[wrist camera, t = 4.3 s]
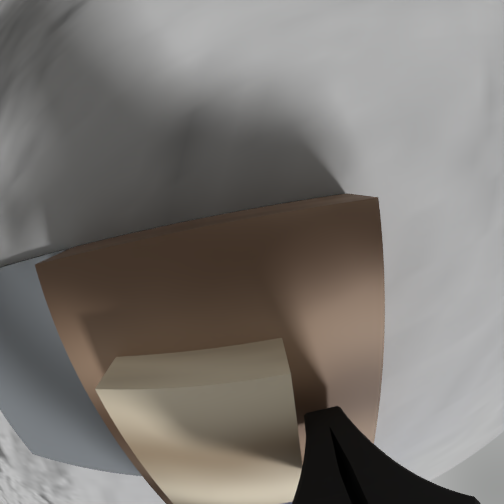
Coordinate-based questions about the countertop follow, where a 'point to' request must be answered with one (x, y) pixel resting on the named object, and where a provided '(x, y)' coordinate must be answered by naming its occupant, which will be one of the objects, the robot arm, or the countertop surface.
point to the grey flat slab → (47, 381)
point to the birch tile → (210, 422)
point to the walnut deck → (235, 299)
